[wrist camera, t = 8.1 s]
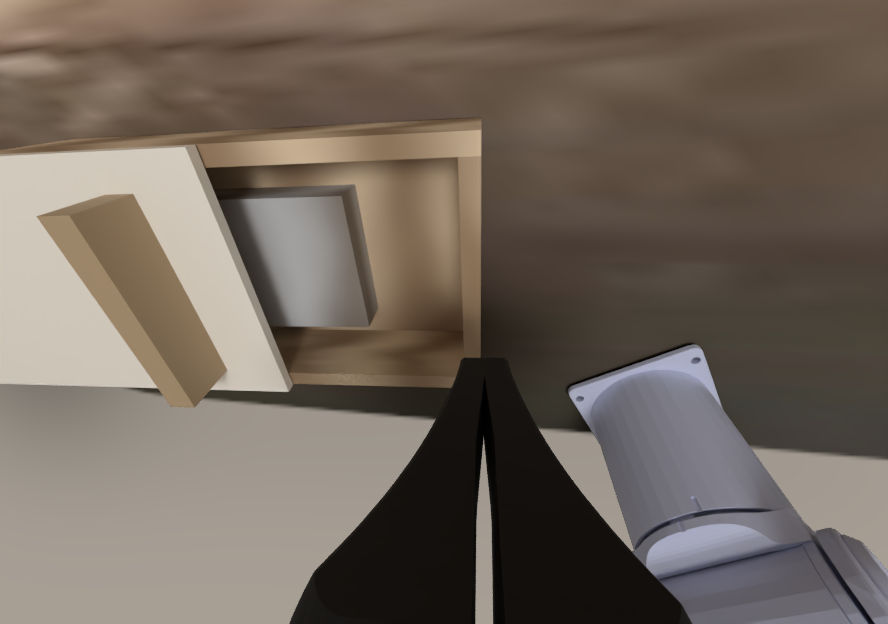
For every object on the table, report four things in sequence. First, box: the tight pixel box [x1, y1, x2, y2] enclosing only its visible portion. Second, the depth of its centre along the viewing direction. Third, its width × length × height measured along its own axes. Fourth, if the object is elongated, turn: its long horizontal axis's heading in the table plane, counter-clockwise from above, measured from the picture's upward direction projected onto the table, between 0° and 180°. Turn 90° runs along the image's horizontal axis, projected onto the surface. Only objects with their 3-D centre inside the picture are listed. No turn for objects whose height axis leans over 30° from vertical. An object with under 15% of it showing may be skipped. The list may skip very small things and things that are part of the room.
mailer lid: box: [0, 145, 293, 407], centre depth 16 cm, size 20×12×3 cm, turn 93°
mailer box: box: [0, 117, 481, 388], centre depth 18 cm, size 20×12×4 cm, turn 93°
